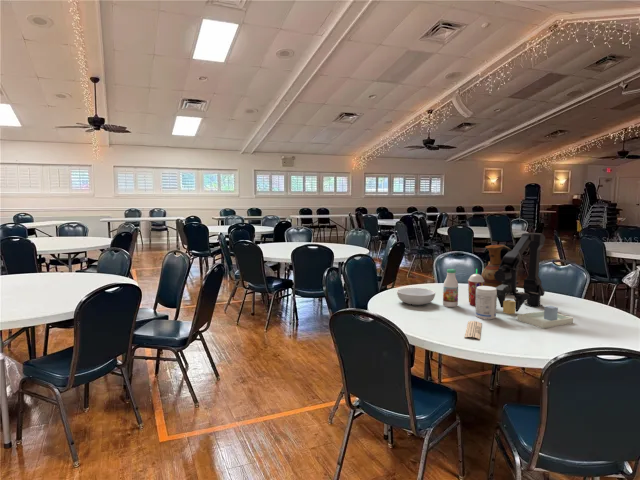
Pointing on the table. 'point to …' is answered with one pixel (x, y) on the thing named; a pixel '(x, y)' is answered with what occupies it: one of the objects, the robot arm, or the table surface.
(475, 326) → the newspaper
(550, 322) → the tray
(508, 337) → the table surface
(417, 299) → the serving bowl
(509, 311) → the ochre block
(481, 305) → the supplement tub
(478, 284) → the smoothie
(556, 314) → the slate block
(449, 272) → the milk bottle
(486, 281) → the ceramic pitcher
